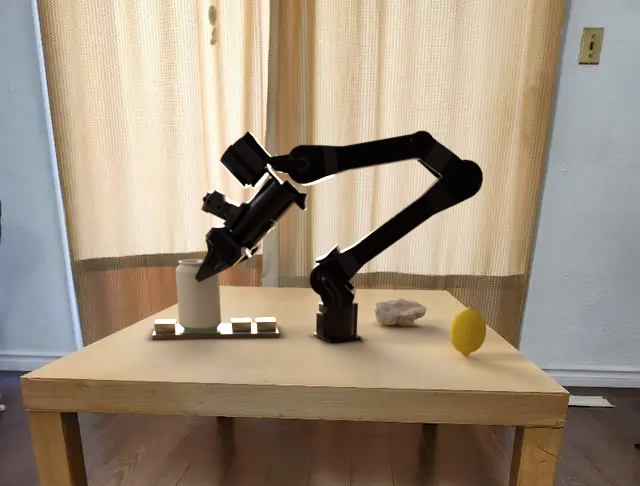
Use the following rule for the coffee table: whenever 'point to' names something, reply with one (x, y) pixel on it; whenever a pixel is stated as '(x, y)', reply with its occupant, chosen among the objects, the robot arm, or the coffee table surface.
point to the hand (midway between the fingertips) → (204, 276)
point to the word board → (218, 329)
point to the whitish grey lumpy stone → (399, 312)
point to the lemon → (468, 331)
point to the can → (197, 298)
